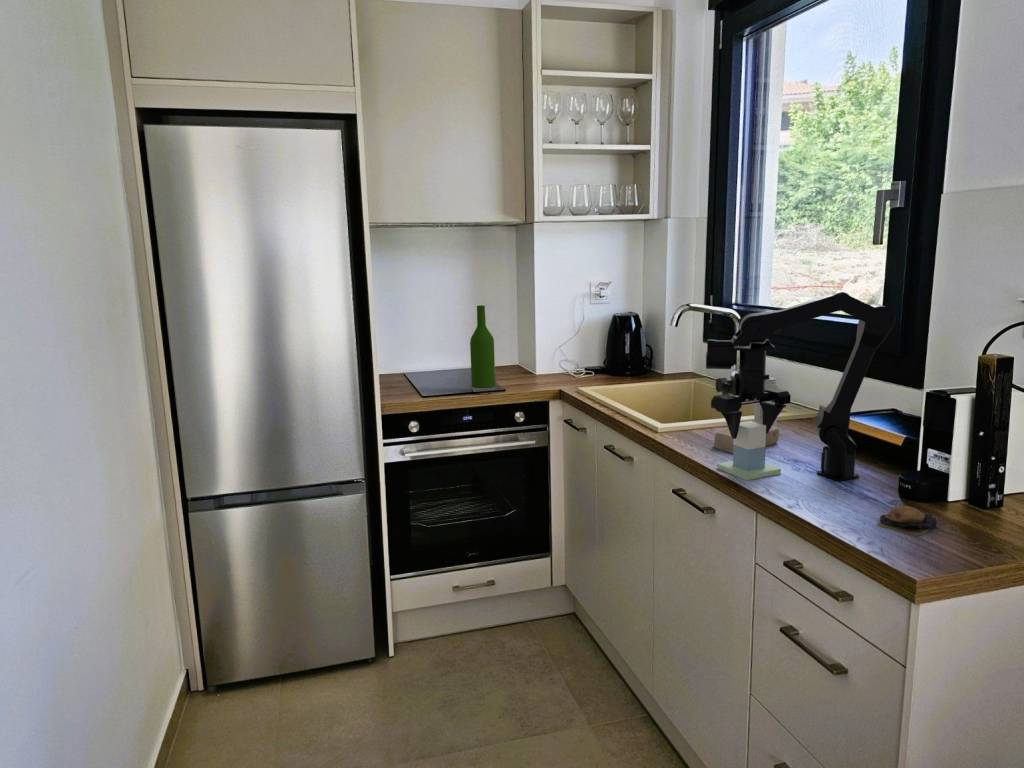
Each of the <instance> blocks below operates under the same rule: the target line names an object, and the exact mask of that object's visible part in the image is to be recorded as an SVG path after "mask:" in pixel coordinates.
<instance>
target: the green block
mask: <svg viewBox="0 0 1024 768" xmlns="http://www.w3.org/2000/svg"><path fill="white" fill-rule="evenodd" d="M716 464H717V465H716V466H717V467H716V469H718V470H720V471H722V472H724V473H727V474H730V475H731V476H734V477H736V478H740V479H742V480H744V481H749V480H750V481H751V480H756V479H760V478H767V477H771V476H776V475H780V474H781V473H782V468H780V467H777V466H774V465H772V464H769V463H767V462H765V468H760V469H754V470H749V471H747V470H745V469H742V468H739V467H737V466H734V465H733V460H731V461H725V462H718V463H716Z"/></svg>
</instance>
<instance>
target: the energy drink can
mask: <svg viewBox="0 0 1024 768" xmlns="http://www.w3.org/2000/svg"><path fill="white" fill-rule="evenodd" d="M769 388H777V389H779V383H778V381H777V377H775V376H769V379H767V380H765V389H769ZM753 413H754V414H753V415H754V418H753V422H756V423H759V424H762V425H763V410H762V407H761V405H760V403H754V412H753ZM777 418H778V417H777ZM777 418H776V420H775V421H774V423H773V425H772V426H773V427H777V425H778V424H777V421H778V419H777Z"/></svg>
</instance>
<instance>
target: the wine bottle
mask: <svg viewBox="0 0 1024 768" xmlns="http://www.w3.org/2000/svg"><path fill="white" fill-rule="evenodd" d="M486 323H487V321H486V305H482V304H481V305H476V325H477V326H476V327H475V328H476V329H475V330H474V331H473V333H472V335H471V336H470V341H469V347H470V348H469V349H470V370H471V371H470V375H471V376H470V377H471V378H470V379H471V388H472V387H474V388H492V387H495V386H496V359H495V358H496V357H495V340H494V336H493V335H492V334H491V332H490V330H489V328H487V324H486Z"/></svg>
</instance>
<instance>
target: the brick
mask: <svg viewBox="0 0 1024 768" xmlns="http://www.w3.org/2000/svg"><path fill="white" fill-rule="evenodd" d="M779 432H780V428H778V427H777V426H776V427H773V426H772V427H771V428H770V430H769V432H768V433H767V434H766V440H765V447H769V446H773V445H774V444H777V443H778V441H779V436H780V433H779ZM713 446H714V448H715V449H718V450H722V451H726V452H728V453H732V454H733V446H734V444H733V438H732V437H731V434H730V431H729V428H727V429H723V430H719V431H716V432H715V435H714V442H713Z"/></svg>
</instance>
